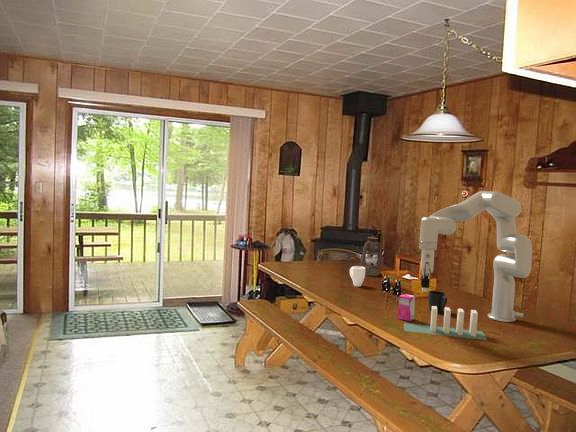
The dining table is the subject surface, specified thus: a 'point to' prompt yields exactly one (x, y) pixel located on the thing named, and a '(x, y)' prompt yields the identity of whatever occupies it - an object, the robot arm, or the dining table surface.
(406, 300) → the supplement box
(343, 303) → the dining table surface
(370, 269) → the lantern
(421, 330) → the runner mat
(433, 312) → the domino
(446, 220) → the robot arm
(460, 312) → the domino
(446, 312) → the domino
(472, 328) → the domino
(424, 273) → the domino
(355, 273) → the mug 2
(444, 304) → the mug
